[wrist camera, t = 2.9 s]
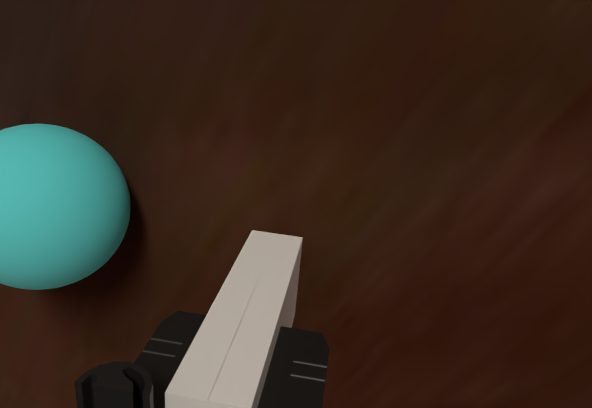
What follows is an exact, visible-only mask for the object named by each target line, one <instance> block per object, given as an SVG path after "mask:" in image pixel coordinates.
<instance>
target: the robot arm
mask: <svg viewBox="0 0 592 408" xmlns="http://www.w3.org/2000/svg"><path fill="white" fill-rule="evenodd" d="M302 239H303V238H302V237H296V236H289V235H282V234H275V233H268V232H261V231H254V230H252V232H251V233H250V235H249V237H248V239H247V241H246V243H245V245H244V246H243V248H242V250H241V252H240V254H239V256H238V258H237V259H236V261H235V263H234V265H233V267H232V269H231V271H230V273H229V274H228V276H227V278H226V280H225V282H224V284H223V286H222V287H221V289H220V291H219V293H218V295H217V297H216V299H215V300H214V302H213V304H212V306H211V308H210V310H209V312H208V313H207V315H200V314H194V313H188V312H182V311H177V312H176V313H174V314H173V315H171V316H170V317H168V318H167V319H165V320H164V321H162V322H161V324H160V325H159V327H158V328H157V330H156V331H155V333H154V334H153V336H152V338H151V340H149V342H148V343H147V345H146V346H145V348H144V349H143V352H141V354H140V355H139V357H138V358H137V360H136V361H135V363H134V364H133V363H130V362H112V363H107V364H103V365H99V366H97V367H95V368H93V369H91V370H89V371H87V372H85V373H84V374H83V375H82V376H81V377H79V378H78V379H77V380H76V381H75V390H76V399H77V408H322V401H323V393H324V386H325V378H326V370H327V362H328V354H329V347H328V345H327V343H326V340H325V338H324V336H323V334H322V333H319V332H313V331H307V330H300V329H294V328H292V324H293V320H294V316H295V307H296V297H297V287H298V278H299V268H300V259H301V249H302Z"/></svg>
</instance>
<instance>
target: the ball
mask: <svg viewBox="0 0 592 408" xmlns="http://www.w3.org/2000/svg"><path fill="white" fill-rule="evenodd" d="M129 218H130V194H129V190H128V186H127V183H126V180H125V177H124V175H123V173H122V171H121V169H120V168H119V166H118V165H117V163H116V162H115V160H114V159H113V158H112V157H111V155H110V154H109V153H108V152H107V151H106V150H105V149H104V148H103V147H101V146H100V145H99V144H98V143H96V142H95V141H93V140H92V139H90V138H89V137H87V136H85V135H83V134H81V133H79V132H76V131H74V130H71V129H68V128H65V127H60V126H55V125H50V124H25V125H19V126H14V127H10V128H6V129H3V130H1V131H0V283H1V284H4V285H8V286H11V287H15V288H21V289H31V290H44V289H52V288H59V287H62V286H65V285H69V284H72V283H75V282H77V281H79V280H81V279H83V278H85V277H87V276H89V275H91V274H92V273H94V272H95V271H96V270H98V269H99V268H100V267H102V266H103V265H104V264H105V263H106V262H107V261H108V260H109V259H110V258H111V257H112V255H113V254H114V253H115V251H116V250H117V249H118V247H119V245H120V244H121V242H122V240H123V238H124V236H125V233H126V230H127V227H128V223H129Z"/></svg>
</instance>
